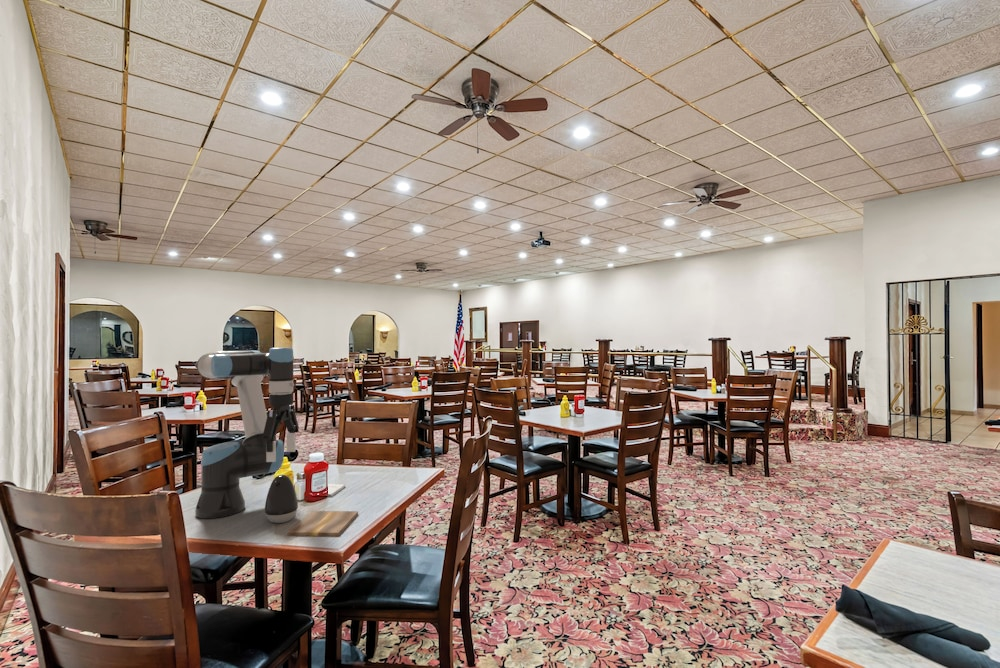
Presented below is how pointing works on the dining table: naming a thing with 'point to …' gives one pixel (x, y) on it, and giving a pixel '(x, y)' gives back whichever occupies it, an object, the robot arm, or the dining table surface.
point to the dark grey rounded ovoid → (281, 500)
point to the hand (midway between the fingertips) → (281, 456)
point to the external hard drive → (334, 489)
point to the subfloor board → (323, 523)
